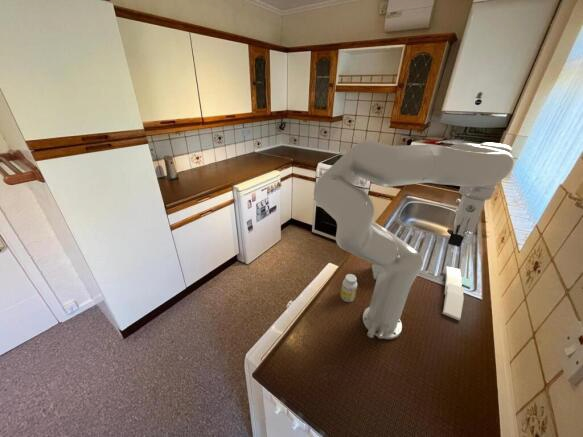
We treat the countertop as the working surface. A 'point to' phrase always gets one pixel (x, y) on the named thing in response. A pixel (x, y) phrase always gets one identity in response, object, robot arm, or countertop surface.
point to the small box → (377, 270)
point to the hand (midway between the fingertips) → (453, 244)
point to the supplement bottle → (349, 288)
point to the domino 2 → (466, 282)
